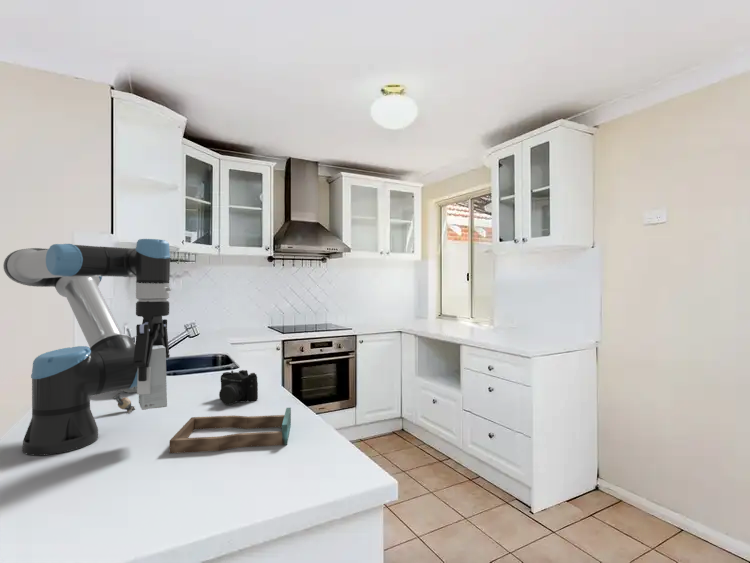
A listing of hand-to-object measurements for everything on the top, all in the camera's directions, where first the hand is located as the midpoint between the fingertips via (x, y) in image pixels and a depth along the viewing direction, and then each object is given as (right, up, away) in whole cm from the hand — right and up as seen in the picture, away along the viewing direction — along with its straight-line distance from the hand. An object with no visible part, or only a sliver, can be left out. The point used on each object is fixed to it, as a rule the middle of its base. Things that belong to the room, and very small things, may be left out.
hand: (152, 388), depth 107 cm
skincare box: (0, -4, 0) cm, 4 cm away
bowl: (-34, -14, +51) cm, 63 cm away
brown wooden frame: (+21, -13, +2) cm, 25 cm away
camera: (+9, -14, +36) cm, 39 cm away
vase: (-22, -14, +24) cm, 35 cm away
